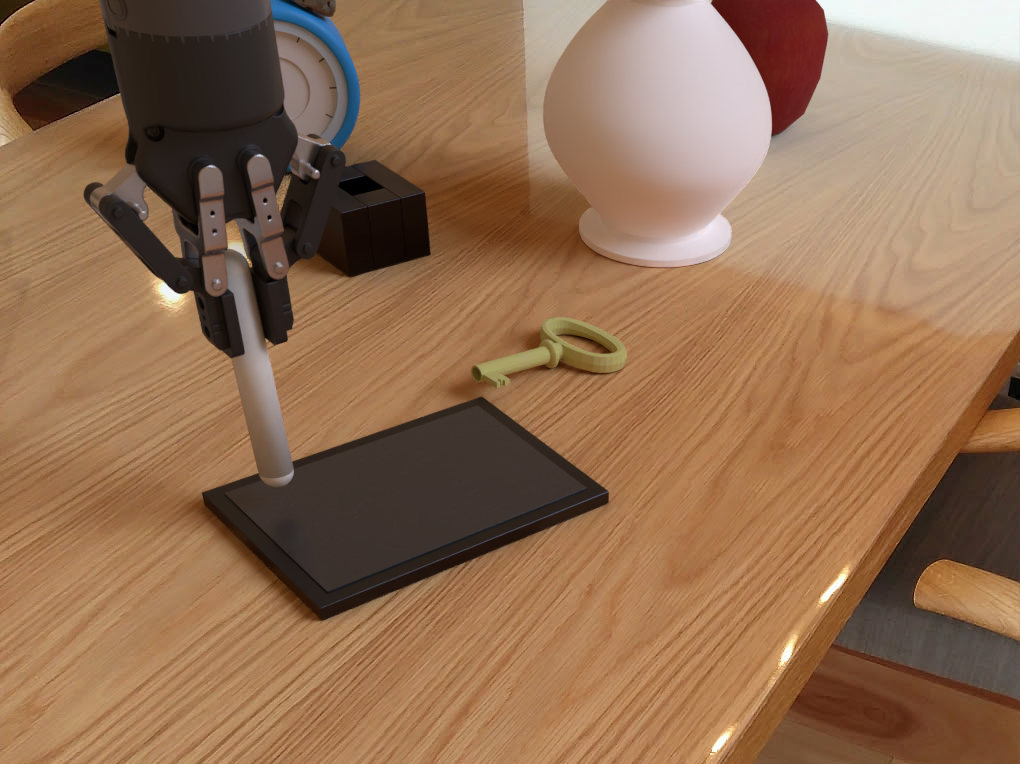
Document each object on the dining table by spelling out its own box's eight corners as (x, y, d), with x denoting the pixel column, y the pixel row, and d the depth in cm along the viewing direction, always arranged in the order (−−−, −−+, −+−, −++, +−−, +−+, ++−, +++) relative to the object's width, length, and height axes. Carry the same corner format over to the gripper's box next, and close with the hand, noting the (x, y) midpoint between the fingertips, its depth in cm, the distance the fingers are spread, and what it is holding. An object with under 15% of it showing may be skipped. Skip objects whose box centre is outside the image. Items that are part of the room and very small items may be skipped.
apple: (735, 95, 144) (744, -54, 134) (840, 123, 140) (856, -28, 131) (673, 131, 136) (678, -25, 127) (783, 162, 132) (796, 4, 123)
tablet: (322, 621, 81) (319, 606, 80) (203, 504, 88) (200, 490, 87) (609, 503, 91) (609, 489, 90) (482, 407, 98) (481, 394, 97)
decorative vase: (536, 189, 124) (525, -148, 107) (740, 187, 127) (761, -139, 110) (558, 285, 112) (549, -79, 94) (783, 280, 115) (814, -71, 98)
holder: (349, 277, 110) (341, 212, 106) (301, 242, 114) (291, 178, 110) (431, 254, 114) (425, 191, 110) (382, 221, 117) (375, 159, 114)
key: (466, 395, 99) (464, 367, 97) (559, 324, 107) (559, 297, 106) (557, 426, 97) (556, 397, 96) (645, 351, 105) (645, 324, 104)
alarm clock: (209, 181, 120) (171, -16, 110) (203, 152, 124) (166, -41, 114) (370, 171, 124) (348, -21, 114) (358, 143, 128) (336, -45, 118)
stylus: (271, 497, 84) (216, 260, 75) (255, 484, 86) (199, 249, 76) (302, 486, 86) (252, 251, 76) (286, 473, 87) (234, 240, 78)
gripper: (281, -40, 73) (329, 286, 85) (3, 1, 66) (98, 352, 78) (360, 2, 69) (398, 338, 81) (74, 51, 62) (162, 411, 74)
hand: (251, 343), depth 79 cm, fingers closed on stylus, 2 cm apart
